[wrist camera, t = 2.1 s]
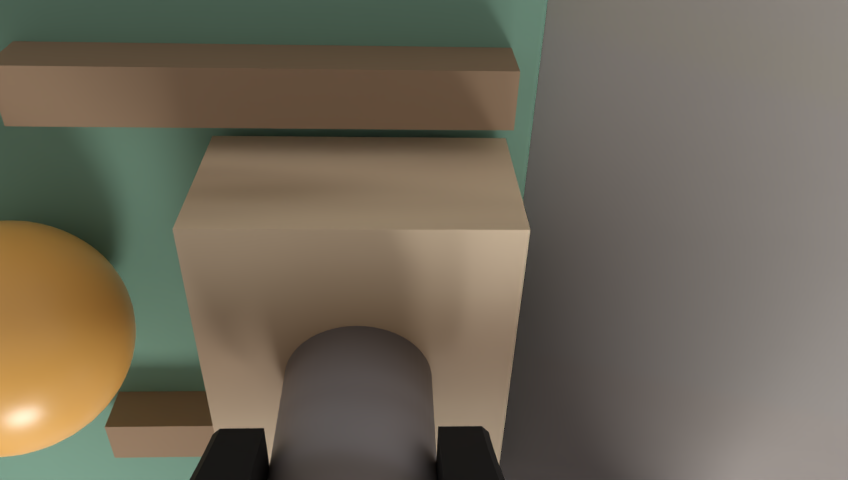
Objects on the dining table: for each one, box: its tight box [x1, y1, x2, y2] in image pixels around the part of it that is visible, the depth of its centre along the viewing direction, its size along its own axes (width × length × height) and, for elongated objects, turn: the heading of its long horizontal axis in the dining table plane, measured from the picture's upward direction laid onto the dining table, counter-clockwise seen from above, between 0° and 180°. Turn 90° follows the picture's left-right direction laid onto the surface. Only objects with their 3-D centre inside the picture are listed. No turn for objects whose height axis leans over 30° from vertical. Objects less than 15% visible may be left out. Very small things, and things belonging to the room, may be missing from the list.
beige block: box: [172, 136, 530, 480], centre depth 11 cm, size 6×5×8 cm
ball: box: [0, 220, 136, 457], centre depth 13 cm, size 4×4×4 cm
